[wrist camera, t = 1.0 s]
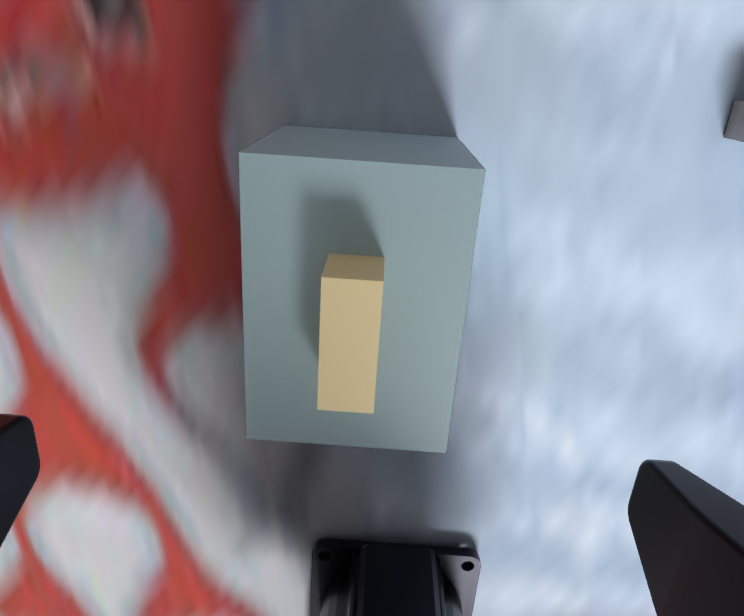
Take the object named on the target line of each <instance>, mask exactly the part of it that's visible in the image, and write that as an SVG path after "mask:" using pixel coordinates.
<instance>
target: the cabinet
mask: <svg viewBox="0 0 744 616" xmlns="http://www.w3.org/2000/svg"><path fill="white" fill-rule="evenodd" d="M484 176H485V168H484V167H483V166H482V165H481V164H480V163H479V162H478V160H477V159H476V158H475V157H474V156H473V155H472V154H471V152H470V151H469V150H468V149H467V148H466V147H465V145H464V144H463V143H462V142H461V141H460V140H459V139H458V137H448V136H434V135H420V134H405V133H391V132H377V131H362V130H348V129H334V128H319V127H305V126H290V125H283V126H282V127H280V128H278V129H277V130H275V131H273V132H272V133H270V134H268V135H267V136H265V137H263V138H262V139H260V140H258V141H257V142H255V143H253V144H252V145H250V146H248V147H247V148H245V149H243V150H242V151H240V152H239V183H240V221H241V259H242V297H243V335H244V373H245V411H246V439H254V440H268V441H282V442H297V443H311V444H325V445H339V446H353V447H367V448H381V449H395V450H409V451H423V452H437V453H446V449H447V442H448V435H449V428H450V420H451V413H452V406H453V399H454V392H455V384H456V377H457V370H458V363H459V356H460V349H461V341H462V334H463V327H464V320H465V313H466V305H467V298H468V291H469V284H470V277H471V269H472V262H473V255H474V248H475V241H476V233H477V226H478V219H479V212H480V205H481V198H482V190H483V183H484Z"/></svg>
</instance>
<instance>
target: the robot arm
mask: <svg viewBox="0 0 744 616" xmlns="http://www.w3.org/2000/svg"><path fill="white" fill-rule="evenodd" d="M39 470H40V458H39V453H38V447H37V442H36V437H35V432H34V427H33V423H32V421H31V420H30V418H28V417H27V416H25V415H13V414H0V547H1V545H2V543H3V541H4V540H5V538H6V536H7V534H8V532H9V530H10V528H11V526H12V525H13V523H14V521H15V519H16V517H17V515H18V513H19V511H20V509H21V508H22V506H23V504H24V502H25V500H26V498H27V496H28V494H29V492H30V491H31V489H32V487H33V485H34V483H35V481H36V479H37V477H38V474H39ZM628 517H629V522H630V525H631V529H632V532H633V536H634V539H635V542H636V546H637V549H638V553H639V556H640V560H641V563H642V566H643V570H644V573H645V577H646V580H647V584H648V587H649V590H650V594H651V597H652V601H653V604H654V607H655V610H656V613H657V616H744V505H742V504H741V503H739V502H737V501H736V500H734V499H733V498H731V497H729V496H728V495H726V494H725V493H723V492H721V491H720V490H718V489H717V488H715V487H714V486H712V485H710V484H709V483H707V482H706V481H704V480H702V479H701V478H699V477H698V476H696V475H694V474H693V473H691V472H690V471H688V470H687V469H685V468H683V467H682V466H680V465H679V464H677V463H675V462H672V461H663V460H646V461H644V462H642V464H641V465H640V467H639V470H638V473H637V477H636V480H635V483H634V487H633V490H632V493H631V497H630V500H629V504H628ZM322 551H327V552H329V553H324V552H322ZM466 561H470V562H469V563H464V562H466ZM480 568H481V565H480V558H479V555H478V553H477V552H476V551H474V550H473V549H468V548H455V547H441V546H427V545H413V544H398V543H384V542H370V541H356V540H342V539H328V538H326V539H320V540H318V541H317V542H316V543H315V544H314V547H313V553H312V577H311V610H310V616H472V611H473V606H474V601H475V595H476V590H477V584H478V579H479V574H480Z"/></svg>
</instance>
